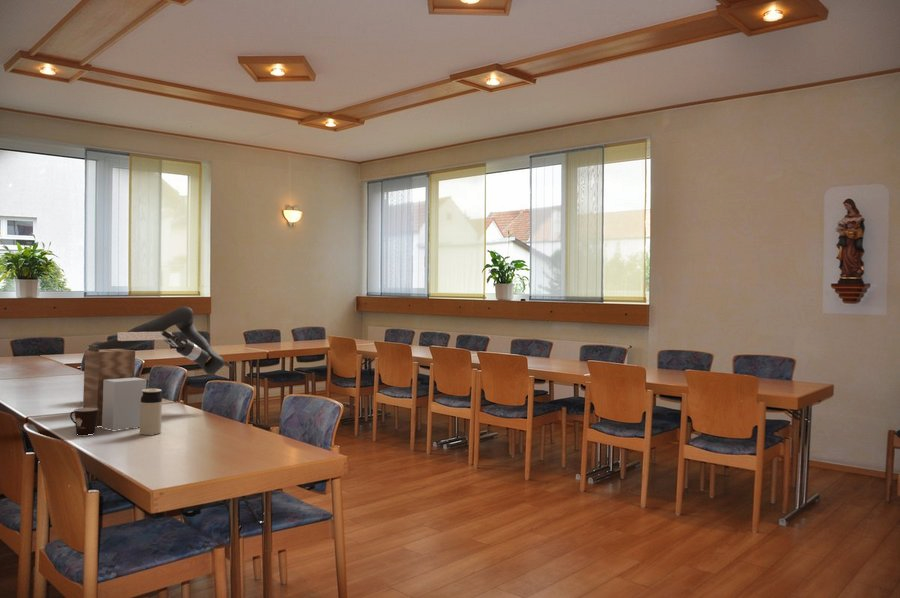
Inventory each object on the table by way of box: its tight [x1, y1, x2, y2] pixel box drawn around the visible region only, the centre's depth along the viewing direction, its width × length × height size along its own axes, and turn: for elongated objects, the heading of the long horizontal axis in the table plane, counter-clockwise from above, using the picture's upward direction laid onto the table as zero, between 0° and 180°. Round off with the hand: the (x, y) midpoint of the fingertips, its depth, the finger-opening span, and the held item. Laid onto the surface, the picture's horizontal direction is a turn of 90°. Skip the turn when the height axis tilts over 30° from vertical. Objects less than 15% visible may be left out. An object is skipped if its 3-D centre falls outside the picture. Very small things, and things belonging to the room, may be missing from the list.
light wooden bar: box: [117, 331, 173, 341], centre depth 313 cm, size 24×4×4 cm, turn 144°
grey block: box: [101, 376, 148, 430], centre depth 293 cm, size 14×9×20 cm, turn 144°
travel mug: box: [139, 388, 163, 436], centre depth 283 cm, size 8×8×18 cm
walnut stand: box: [82, 344, 136, 427], centre depth 300 cm, size 16×12×34 cm
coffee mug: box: [69, 407, 98, 436], centre depth 278 cm, size 12×9×10 cm
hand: (161, 332), depth 319 cm, fingers closed on light wooden bar, 3 cm apart
